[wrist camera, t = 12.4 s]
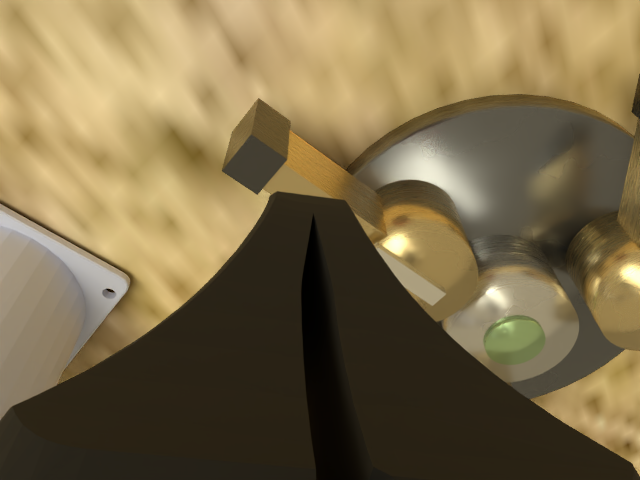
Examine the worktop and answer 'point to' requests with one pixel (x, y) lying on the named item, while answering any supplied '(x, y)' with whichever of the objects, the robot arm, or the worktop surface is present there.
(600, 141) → the level plate
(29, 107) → the worktop surface
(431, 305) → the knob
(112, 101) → the worktop surface
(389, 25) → the worktop surface
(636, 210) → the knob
